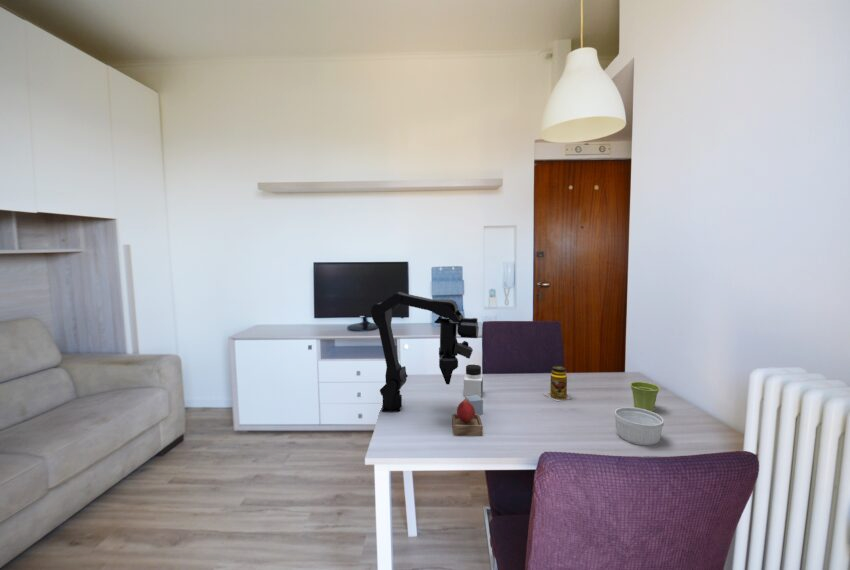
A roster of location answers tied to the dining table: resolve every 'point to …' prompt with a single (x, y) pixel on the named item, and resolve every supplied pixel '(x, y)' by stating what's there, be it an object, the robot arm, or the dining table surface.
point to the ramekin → (638, 425)
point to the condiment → (558, 384)
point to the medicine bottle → (473, 381)
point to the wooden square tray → (467, 426)
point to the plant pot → (644, 395)
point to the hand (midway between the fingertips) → (447, 379)
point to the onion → (465, 411)
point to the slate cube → (476, 403)
